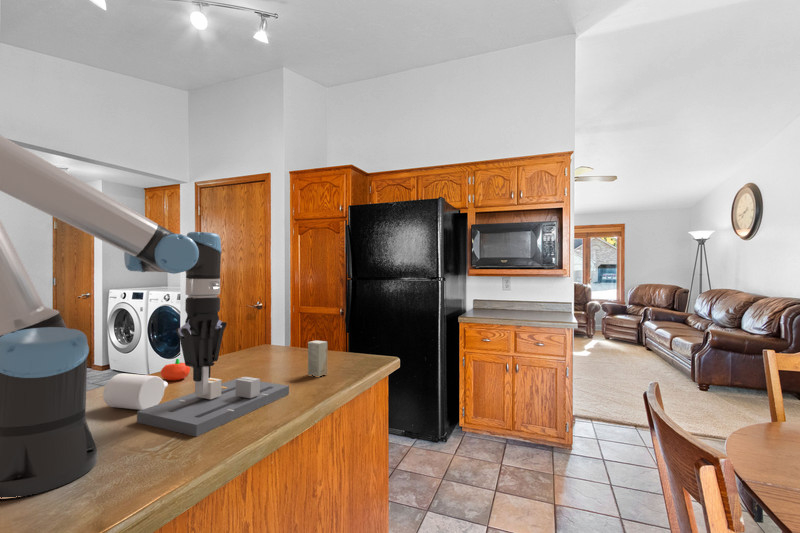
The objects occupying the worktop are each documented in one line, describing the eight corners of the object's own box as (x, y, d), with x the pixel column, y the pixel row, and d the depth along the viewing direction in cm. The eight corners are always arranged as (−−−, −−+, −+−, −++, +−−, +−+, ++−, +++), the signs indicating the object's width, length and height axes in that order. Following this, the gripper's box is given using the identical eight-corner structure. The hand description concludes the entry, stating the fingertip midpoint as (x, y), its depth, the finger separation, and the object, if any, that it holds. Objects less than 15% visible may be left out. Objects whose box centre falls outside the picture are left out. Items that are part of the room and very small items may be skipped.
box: (327, 375, 128) (328, 341, 128) (318, 378, 124) (319, 343, 124) (316, 372, 131) (316, 339, 131) (306, 375, 127) (307, 341, 127)
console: (199, 437, 79) (200, 425, 79) (136, 422, 86) (137, 410, 86) (291, 394, 107) (291, 385, 107) (238, 386, 114) (238, 377, 114)
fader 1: (210, 399, 94) (211, 382, 94) (196, 396, 95) (196, 379, 95) (221, 395, 97) (221, 378, 97) (206, 392, 98) (207, 376, 98)
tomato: (158, 381, 119) (158, 360, 120) (187, 377, 124) (187, 356, 125) (163, 383, 114) (163, 361, 114) (193, 379, 119) (193, 357, 120)
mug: (137, 415, 90) (138, 381, 90) (102, 411, 92) (103, 378, 92) (176, 399, 102) (177, 368, 102) (144, 395, 104) (145, 366, 104)
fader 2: (250, 398, 95) (250, 381, 95) (235, 395, 97) (235, 378, 97) (259, 394, 98) (260, 378, 98) (244, 392, 100) (245, 375, 100)
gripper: (191, 298, 87) (189, 404, 86) (235, 295, 99) (234, 387, 98) (167, 297, 89) (165, 399, 89) (213, 294, 101) (212, 384, 101)
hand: (201, 393), depth 94 cm, fingers closed
